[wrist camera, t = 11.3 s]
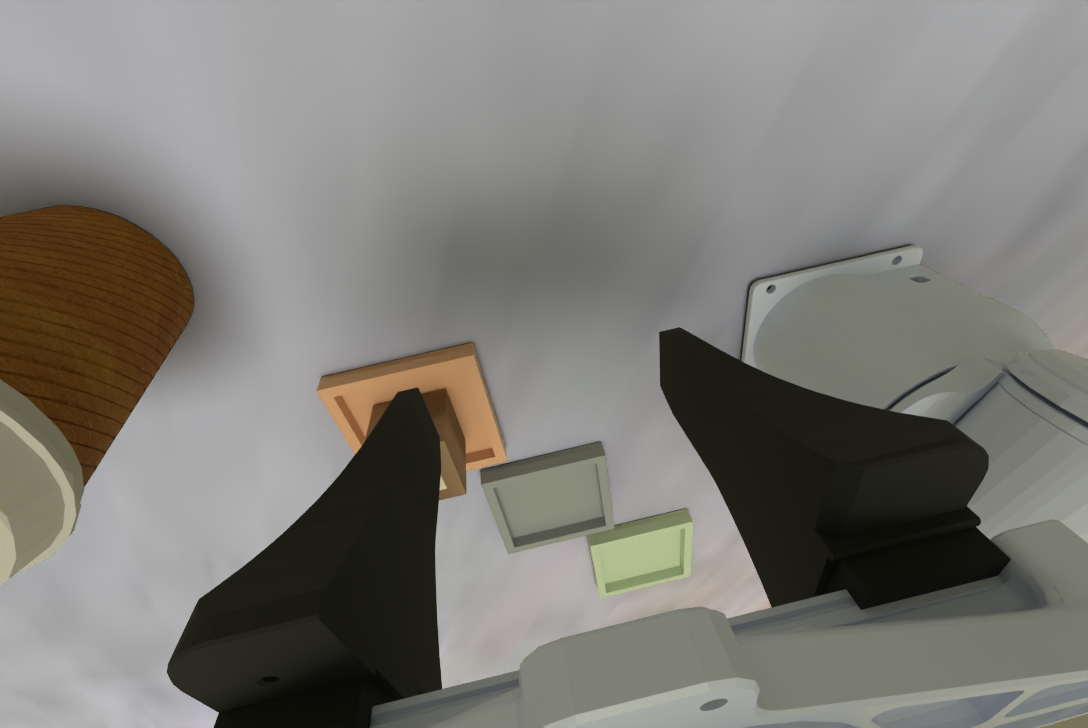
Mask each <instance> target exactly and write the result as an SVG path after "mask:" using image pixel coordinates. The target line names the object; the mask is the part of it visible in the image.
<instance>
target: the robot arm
mask: <svg viewBox="0 0 1088 728" xmlns="http://www.w3.org/2000/svg"><path fill="white" fill-rule="evenodd" d="M922 256H923V248H921V247H919V246H916V245H912V246H907V247H903V248H898V249H894V250H890V251H885V252H881V253H876V254H872V255H868V256H863V257H859V258H854V259H850V260H845V261H841V262H837V263H832V264H828V265H823V266H819V267H815V268H810V269H806V270H801V271H797V272H793V273H788V274H784V275H779V276H775V277H771V278H766V279H762V280H758V281H756V282H755V283H753V284H752V286H751V287H750V291H749V300H748V308H747V317H746V326H745V334H744V343H743V352H742V360H741V361H740V360H738V359H736V358H734V357H732V356H730V355H728V354H727V353H725V352H723V351H721V350H719V349H717V348H716V347H714V346H712V345H710V344H708V343H707V342H705V341H703V340H701V339H700V338H698V337H696V336H694V335H693V334H691V333H689V332H687V331H685V330H684V329H682V328H680V327H679V328H675V329H671V330H666V331H662V332H659V338H660V386H661V388H662V391H663V393H664V395H665V398H666V400H667V402H668V404H669V406H670V408H671V411H672V413H673V415H674V416H675V418H676V419H677V421H678V423H679V424H680V426H681V427H682V429H683V431H684V432H685V434H686V435H687V437H688V439H689V440H690V442H691V443H692V445H693V447H694V448H695V450H696V451H697V453H698V454H699V456H700V458H701V459H702V461H703V462H704V464H705V465H706V467H707V469H708V470H709V472H710V474H711V475H712V477H713V479H714V481H715V482H716V484H717V486H718V488H719V490H720V492H721V494H722V496H723V498H724V500H725V503H726V505H727V507H728V509H729V511H730V513H731V515H732V517H733V519H734V521H735V524H736V526H737V528H738V530H739V532H740V534H741V536H742V539H743V541H744V543H745V545H746V548H747V550H748V552H749V554H750V557H751V559H752V561H753V564H754V566H755V568H756V570H757V573H758V575H759V577H760V580H761V582H762V585H763V587H764V589H765V592H766V594H767V597H768V599H769V602H770V604H771V607H772V608H768V609H764V610H760V611H756V612H752V613H748V614H744V615H740V616H736V617H732V618H728V619H727V618H726V616H725V614H724V613H721V612H719V611H716V610H712V609H708V608H705V607H694V608H686V609H677V610H673V611H669V612H665V613H661V614H657V615H653V616H649V617H645V618H641V619H637V620H633V621H629V622H625V623H621V624H617V625H613V626H608V627H604V628H600V629H596V630H592V631H588V632H584V633H580V634H576V635H572V636H568V637H564V638H560V639H558V640H555V641H553V642H550V643H547V644H545V645H542V646H540V647H538V648H537V649H536V650H534V651H533V652H532V653H531V654H529V655H528V656H527V657H526V658H525V659H524V660H523V661H522V663H521V664H520V670H518V671H514V672H510V673H506V674H502V675H498V676H494V677H490V678H486V679H482V680H478V681H474V682H470V683H465V684H461V685H457V686H453V687H449V688H445V689H442V682H441V670H440V658H439V642H438V625H437V604H436V577H435V538H436V525H437V514H438V502H439V491H440V478H441V450H440V437H439V434H438V432H437V430H436V427H435V425H434V423H433V420H432V418H431V416H430V413H429V411H428V409H427V406H426V404H425V402H424V399H423V397H422V395H421V392H420V390H419V388H418V387H417V388H413V389H408V390H404V391H400V392H397V394H396V395H395V397H394V398H393V400H392V401H391V403H390V404H389V406H388V407H387V409H386V410H385V412H384V413H383V415H382V417H381V418H380V420H379V421H378V423H377V424H376V426H375V427H374V429H373V430H372V432H371V433H370V435H369V436H368V438H367V439H366V441H365V442H364V444H363V445H362V446H361V448H360V449H359V450H358V452H357V453H356V454H355V456H354V457H353V458H352V460H351V461H350V462H349V464H348V465H347V466H346V468H345V469H344V470H343V471H342V473H341V474H340V475H339V476H338V477H337V479H336V480H335V481H334V482H333V483H332V484H331V486H330V487H329V488H328V489H327V490H326V491H325V492H324V493H323V494H322V496H321V497H320V498H319V499H318V500H317V501H316V502H315V503H314V504H313V505H312V506H311V507H310V508H309V509H308V510H307V511H306V512H305V513H304V514H303V515H302V516H301V517H300V518H299V519H298V520H297V521H296V522H295V523H294V524H292V525H291V526H290V527H289V528H288V529H287V530H286V531H285V532H284V533H283V534H282V535H281V536H279V537H278V538H277V539H276V540H275V541H274V542H273V543H271V544H270V545H269V546H268V547H267V548H266V549H264V550H263V551H262V552H261V553H260V554H258V555H257V556H256V557H255V558H254V559H252V560H251V561H250V562H248V563H247V564H246V565H245V566H243V567H242V568H241V569H240V570H238V571H237V572H235V573H234V574H233V575H231V576H230V577H229V578H227V579H226V580H225V581H223V582H222V583H221V584H219V585H218V586H217V587H215V588H214V589H213V590H211V591H210V592H209V593H207V594H206V595H204V596H203V597H202V598H200V599H199V600H198V602H197V604H196V606H195V608H194V610H193V612H192V615H191V617H190V619H189V621H188V623H187V625H186V627H185V629H184V631H183V634H182V636H181V638H180V640H179V642H178V644H177V646H176V648H175V650H174V653H173V655H172V657H171V659H170V661H169V663H168V668H167V674H168V676H169V678H170V680H171V682H172V683H173V685H175V686H176V687H177V688H178V689H180V690H181V691H182V692H184V693H186V694H188V695H189V696H191V697H193V698H194V699H196V700H198V701H200V702H201V703H203V704H205V705H207V706H208V707H210V708H212V709H214V710H215V711H217V712H219V714H218V717H217V720H216V723H215V725H214V728H1041V727H1044V726H1047V725H1051V724H1054V723H1058V722H1061V721H1064V720H1068V719H1071V718H1074V717H1078V716H1081V715H1085V714H1088V359H1086V358H1083V357H1081V356H1078V355H1075V354H1072V353H1068V352H1065V351H1061V350H1057V349H1055V348H1054V346H1053V344H1052V342H1051V341H1050V339H1049V338H1048V337H1047V335H1046V334H1045V333H1044V331H1043V330H1042V329H1041V328H1040V327H1039V326H1038V325H1037V324H1036V323H1035V322H1034V321H1032V320H1031V319H1030V318H1028V317H1027V316H1026V315H1024V314H1022V313H1021V312H1019V311H1017V310H1015V309H1013V308H1011V307H1008V306H1006V305H1004V304H1002V303H1000V302H998V301H996V300H994V299H991V298H989V297H987V296H985V295H983V294H981V293H979V292H977V291H974V290H972V289H970V288H968V287H966V286H964V285H962V284H960V283H957V282H955V281H953V280H951V279H949V278H947V277H945V276H943V275H940V274H938V273H936V272H934V271H932V270H930V269H928V268H925V267H923V266H921V265H919V264H920V262H921V259H922ZM895 257H896V258H895ZM894 258H895V259H894ZM893 259H894V260H893ZM770 285H772V286H771V288H770V289H768V290H767V288H768V287H769V286H770Z"/></svg>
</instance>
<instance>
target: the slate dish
mask: <svg viewBox="0 0 1088 728" xmlns="http://www.w3.org/2000/svg"><path fill="white" fill-rule="evenodd" d="M480 471H481V485H482V488H483V490H484V493H485V496H486V498H487V501H488V503H489V506H490V508H491V511H492V514H493V516H494V519H495V521H496V524H497V526H498V529H499V532H500V534H501V537H502V539H503V542H504V545H505V547H506V550H507V552H508V554H511V553H515V552H520V551H524V550H528V549H532V548H536V547H540V546H545V545H549V544H553V543H557V542H561V541H565V540H570V539H574V538H578V537H582V536H586V535H590V534H594V533H599V532H603V531H607V530H611V529H615V527H614V519H613V511H612V503H611V496H610V488H609V480H608V472H607V464H606V456H605V453H604V450H603V447H602V444H601V442H597V443H593V444H589V445H585V446H580V447H576V448H572V449H567V450H563V451H559V452H555V453H550V454H546V455H542V456H538V457H533V458H529V459H525V460H521V461H516V462H512V463H508V464H504V465H499V466H495V467H491V468H487V469H482V470H480Z"/></svg>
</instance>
